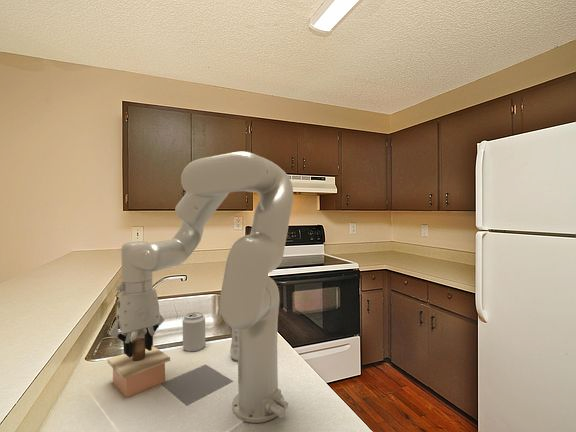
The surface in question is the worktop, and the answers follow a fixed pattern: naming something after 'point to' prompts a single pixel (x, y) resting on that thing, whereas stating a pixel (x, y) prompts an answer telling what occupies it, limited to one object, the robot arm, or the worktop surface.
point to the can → (194, 331)
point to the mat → (196, 384)
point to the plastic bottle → (234, 345)
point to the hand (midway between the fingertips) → (138, 351)
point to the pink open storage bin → (139, 380)
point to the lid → (137, 359)
